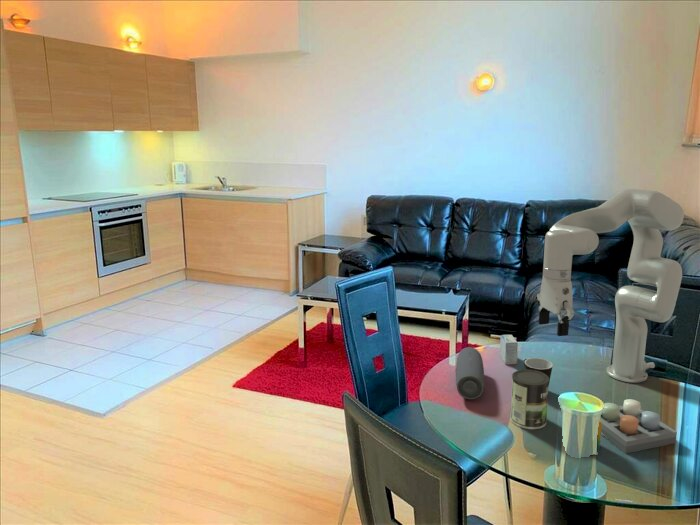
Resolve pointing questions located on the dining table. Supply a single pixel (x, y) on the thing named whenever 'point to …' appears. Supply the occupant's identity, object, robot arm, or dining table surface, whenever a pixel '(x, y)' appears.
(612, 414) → the button sage
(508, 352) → the medicine box
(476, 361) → the bluetooth speaker
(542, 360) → the coffee mug
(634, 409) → the button cream
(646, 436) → the grey square tray
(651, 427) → the button slate
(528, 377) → the coffee can
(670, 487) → the dining table surface
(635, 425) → the button terracotta
